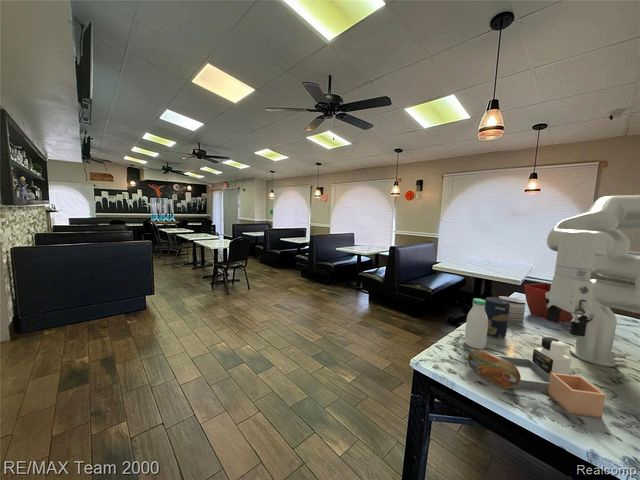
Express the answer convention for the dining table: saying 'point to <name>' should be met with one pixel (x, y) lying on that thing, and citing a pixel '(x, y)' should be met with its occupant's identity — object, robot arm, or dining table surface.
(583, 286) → the robot arm
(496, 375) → the tin
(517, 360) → the grey square tray
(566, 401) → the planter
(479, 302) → the milk bottle
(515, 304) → the can
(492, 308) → the canister
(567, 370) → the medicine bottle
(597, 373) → the dining table surface
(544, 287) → the plant pot
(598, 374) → the dining table surface
